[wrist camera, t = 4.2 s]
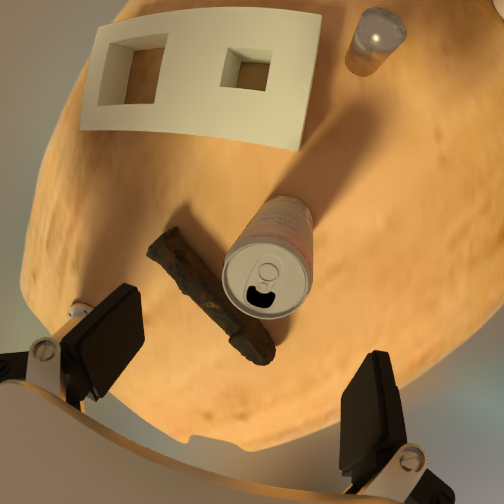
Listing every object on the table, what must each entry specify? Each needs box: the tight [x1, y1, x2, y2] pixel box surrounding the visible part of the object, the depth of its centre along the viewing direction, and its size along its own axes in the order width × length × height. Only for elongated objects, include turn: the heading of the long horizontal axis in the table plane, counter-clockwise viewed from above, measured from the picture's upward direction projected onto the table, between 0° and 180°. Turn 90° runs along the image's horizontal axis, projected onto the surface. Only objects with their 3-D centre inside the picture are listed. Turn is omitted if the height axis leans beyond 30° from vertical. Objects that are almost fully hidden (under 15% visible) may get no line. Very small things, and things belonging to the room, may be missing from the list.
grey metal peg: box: [345, 8, 406, 77], centre depth 14 cm, size 3×3×9 cm
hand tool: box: [146, 227, 276, 366], centre depth 29 cm, size 19×4×5 cm, turn 40°
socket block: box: [79, 7, 322, 152], centre depth 20 cm, size 12×22×4 cm, turn 81°
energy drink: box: [222, 196, 313, 319], centre depth 20 cm, size 5×5×12 cm
